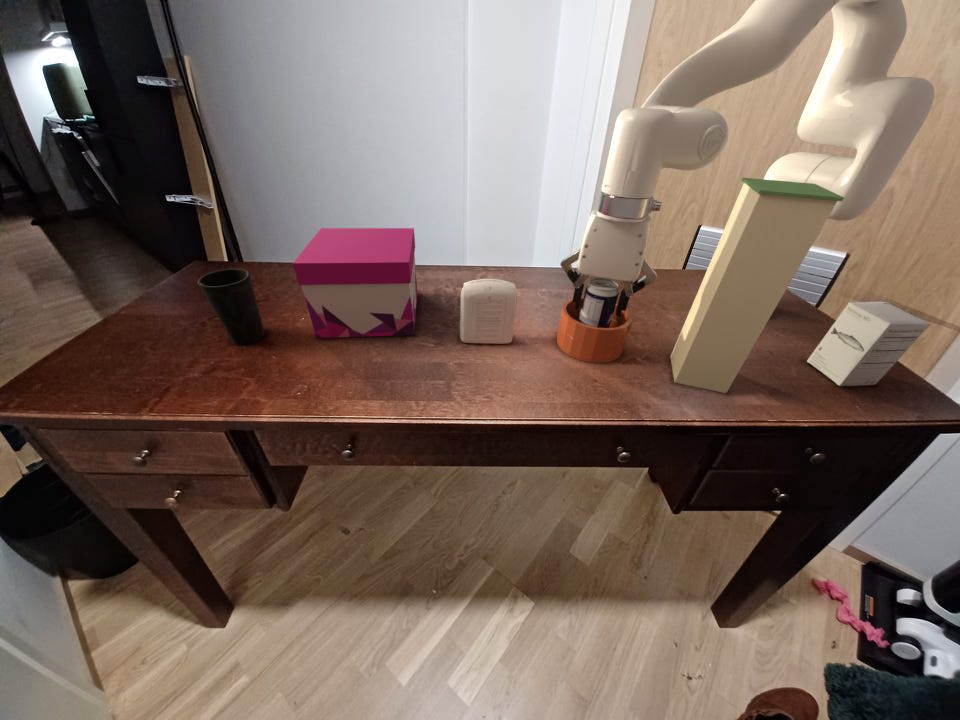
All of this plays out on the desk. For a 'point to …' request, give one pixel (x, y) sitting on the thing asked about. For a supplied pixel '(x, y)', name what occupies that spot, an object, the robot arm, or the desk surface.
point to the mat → (791, 189)
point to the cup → (234, 304)
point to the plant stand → (744, 284)
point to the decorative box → (360, 281)
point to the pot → (592, 335)
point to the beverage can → (599, 303)
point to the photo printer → (487, 311)
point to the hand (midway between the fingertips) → (597, 308)
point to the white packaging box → (866, 342)
